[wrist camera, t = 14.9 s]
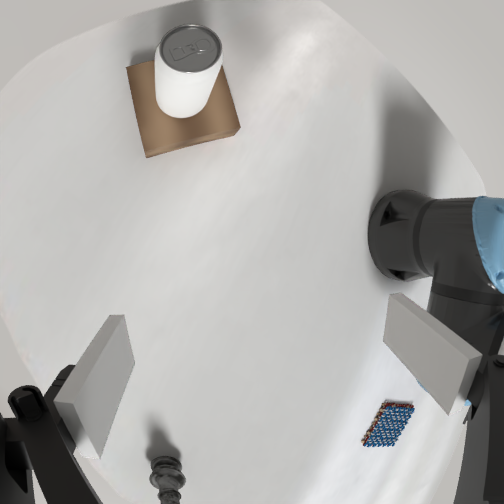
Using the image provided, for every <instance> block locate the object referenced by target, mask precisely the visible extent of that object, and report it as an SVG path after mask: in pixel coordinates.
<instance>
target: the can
mask: <svg viewBox="0 0 504 504" xmlns="http://www.w3.org/2000/svg"><path fill="white" fill-rule="evenodd" d="M222 61H223V51H222V44H221V41H220V39H219V37H218V36H217V35H216V33H215V32H213V31H212V30H211V29H209V28H207V27H205V26H201V25H197V24H186V25H181V26H178V27H175V28H173V29H172V30H170V31H169V32H167V33H166V34H165V36H164V37H163V38H162V40H161V42H160V44H159V45H158V47H157V49H156V53H155V91H156V100H157V103H158V106H159V107H160V109H161V110H162V111H163V112H164V113H166V114H167V115H169V116H172V117H176V118H187V117H191V116H193V115H195V114H197V113H198V112H200V111H201V110H202V109H203V108H204V106H205V105H206V103H207V101H208V98H209V96H210V93H211V91H212V88H213V86H214V83H215V81H216V78H217V76H218V73H219V71H220V68H221V65H222Z"/></svg>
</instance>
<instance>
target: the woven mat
mask: <svg viewBox="0 0 504 504" xmlns="http://www.w3.org/2000/svg"><path fill="white" fill-rule="evenodd" d="M382 406H384V407H383V408H382V409H380V413H377V414H376V415H379V417H376V418H375V421H376V422H373V423H372V424H373V427H370V429H371V430H369V431H368V432H367V434H368V435H364V437H367V438H366V440H362V443H363V446H366V445H367V444H368V446H367V447H369V446H372V445H373V446H372V447H374V446H376V445H377V444H378V447H379V446H381V445H382V444H383V447H384V446H386V445H387V444H388V445H387V447H389V446H391V444H392V443H393V445H392V446H394V445H395V443H396V441H397V440H398V438H399V437H398V436H400V435H401V434H402V433H401V432H402V431H403V429H405V426H406V424H408V423H407V422H408V421H409V420H408V419H410V418H411V415H412V413H414V409H415V408H413V407H414V405H409V404H407V405H405V404H403V405H402V404H401V405H400V404H399V405H398V404H395V403H393V404H390V403H382ZM382 412H383V413H382ZM386 421H387V422H386ZM404 422H405V423H404ZM402 427H403V428H402ZM380 439H381V440H380Z"/></svg>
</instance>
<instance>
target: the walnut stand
mask: <svg viewBox="0 0 504 504" xmlns="http://www.w3.org/2000/svg"><path fill="white" fill-rule="evenodd" d="M126 69H127V74H128V79H129V84H130V89H131V94H132V99H133V104H134V109H135V113H136V118H137V122H138V126H139V131H140V135H141V139H142V144H143V148H144V152H145V155H146V158H149V157H153V156H156V155H159V154H163V153H166V152H170V151H174V150H177V149H181V148H185V147H189V146H192V145H196V144H200V143H204V142H209V141H213V140H217V139H221V138H226V137H230V136H234V135H235V134H236V132H237V131H238V130H239V129H240V128H241V127H240V123H239V120H238V117H237V113H236V110H235V106H234V103H233V100H232V96H231V93H230V89H229V86H228V83H227V79H226V76H225V73H224V70H223V66H222V65H221V68H220V71H219V73H218V76H217V78H216V81H215V83H214V86H213V88H212V91H211V93H210V96H209V98H208V101H207V103H206V105H205V106H204V108H203V109H202V110H201V111H200V112H198V113H197V114H195V115H193V116H191V117H187V118H176V117H172V116H169V115H167V114H166V113H164V112H163V111H162V110H161V109H160V107H159V106H158V103H157V100H156V91H155V60H152V61H148V62H144V63H140V64H136V65H132V66H129V67H126Z"/></svg>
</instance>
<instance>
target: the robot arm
mask: <svg viewBox="0 0 504 504" xmlns="http://www.w3.org/2000/svg"><path fill="white" fill-rule="evenodd" d="M368 241H369V248H370V253H371V256H372V259H373V261H374V263H375V265H376V266H377V268H378V269H379V270H380V271H381V272H382V273H383V274H384V275H386V276H387V277H389V278H392V279H396V280H400V281H412V280H416V279H421V278H425V277H429V276H432V277H433V281H432V287H431V292H430V297H429V302H428V307H427V311H425V310H424V309H423V308H421V307H420V306H419V305H417V304H416V303H415V302H413V301H412V300H410V299H409V298H408V297H406V296H405V295H404V294H402V293H397V294H390V295H389V301H388V309H387V317H386V324H385V331H384V337H383V342H384V343H385V344H386V345H387V346H388V347H389V348H390V350H391V351H392V352H393V353H394V354H395V355H396V356H397V357H398V358H399V360H400V361H401V362H402V363H403V364H404V365H405V366H406V367H407V369H408V370H409V371H410V372H411V373H412V374H413V375H414V376H415V378H416V380H417V382H418V383H419V385H420V386H421V387H422V388H423V389H424V390H425V391H426V392H428V393H429V394H430V395H431V396H432V397H433V398H434V399H435V401H436V402H437V403H438V404H439V405H440V406H441V408H442V409H443V410H444V411H445V412H446V413H447V415H448V416H449V415H452V414H454V413H457V412H459V411H461V410H462V409H463V407H464V406H468V405H471V406H470V408H469V410H468V412H467V415H466V417H465V419H464V421H463V424H465V423H466V421H467V420H468V422H467V432H466V440H465V447H464V454H463V460H462V466H461V472H460V477H459V482H458V486H457V491H456V496H455V500H454V504H504V199H503V198H490V197H486V196H479V197H473V198H450V199H433V198H431V197H428V196H426V195H423V194H421V193H418V192H416V191H412V190H400V191H394V192H391V193H389V194H387V195H386V196H384V197H383V198H382V199H381V200H380V202H379V203H378V204H377V206H376V207H375V209H374V211H373V214H372V216H371V220H370V224H369V232H368ZM134 365H135V361H134V357H133V352H132V348H131V344H130V340H129V335H128V331H127V326H126V321H125V316H124V315H109V317H108V318H107V320H106V321H105V323H104V324H103V326H102V327H101V328H100V330H99V331H98V333H97V334H96V336H95V337H94V339H93V340H92V342H91V343H90V345H89V346H88V347H87V349H86V350H85V352H84V353H83V355H82V357H81V358H80V360H79V361H78V363H77V364H76V365H68V366H67V367H65V368H64V369H63V370H61V371H60V373H59V374H58V376H57V377H56V380H54V382H53V383H52V386H50V388H49V389H48V391H47V392H46V394H45V395H44V397H43V396H42V393H41V391H40V390H39V388H38V387H35V386H32V385H26V386H21V387H19V388H17V389H15V390H14V391H13V392H11V393H10V395H9V397H8V403H9V405H10V407H11V409H12V411H13V413H14V415H15V417H16V418H3V417H2V415H1V413H0V504H35V499H34V490H33V480H32V470H34V472H35V475H36V478H37V480H38V483H39V485H40V487H41V490H42V492H43V494H44V497H45V499H46V501H47V503H48V504H103V503H102V502H101V500H100V499H99V497H98V496H97V494H96V492H95V491H94V489H93V488H92V486H91V484H90V483H89V481H88V479H87V478H86V476H85V474H84V473H83V471H82V469H81V468H80V466H79V464H78V462H77V461H76V459H75V457H74V455H73V453H74V450H75V448H76V447H77V449H78V451H79V453H80V454H81V456H82V457H87V458H94V459H101V456H102V453H103V450H104V447H105V444H106V441H107V438H108V435H109V432H110V429H111V426H112V423H113V421H114V418H115V415H116V412H117V409H118V407H119V404H120V401H121V399H122V396H123V393H124V391H125V388H126V385H127V383H128V380H129V377H130V375H131V372H132V370H133V367H134Z"/></svg>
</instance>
